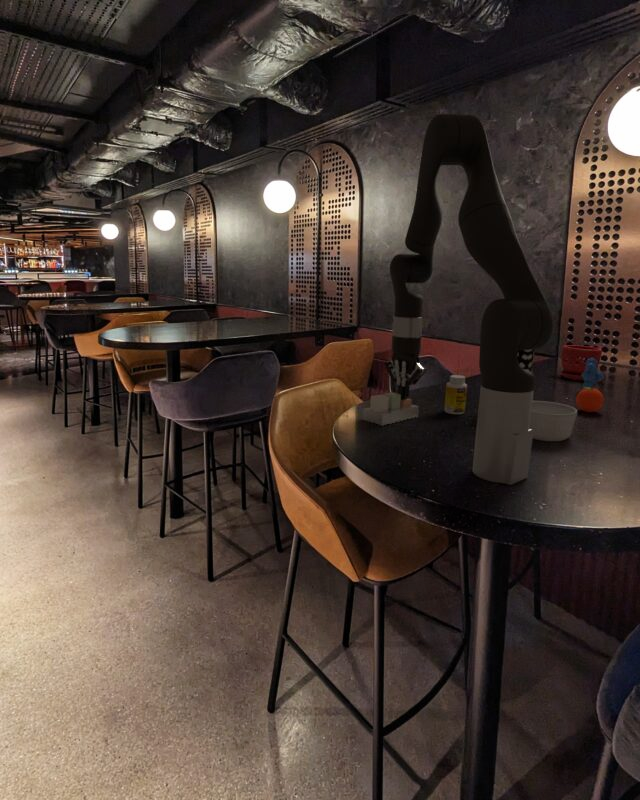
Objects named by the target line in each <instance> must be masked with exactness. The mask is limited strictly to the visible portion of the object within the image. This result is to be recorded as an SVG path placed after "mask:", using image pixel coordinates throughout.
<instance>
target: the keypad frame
mask: <svg viewBox="0 0 640 800" xmlns="http://www.w3.org/2000/svg"><path fill="white" fill-rule="evenodd" d="M419 411H420V405H417V404H412V403H411V406H408V407H400V408H399V409H395V410H389V409H388V411H386V412H382V413H377V412H374V411H371V410H370V406H369V407H365V408H362V416H361V417H362V419H361V420H362V421H364V420H365V422H367V421H368V422H367V423H370V422H371V423H370V424H373V423H375V424H374V425H376V424H378V425H377V426H380V425H381V426H380V427H385V426H388V425H387V424H389V425H393V424H396V422H397V423H400V421H401V422H403V421H404V420H405V421H407V419H409V420H412V419H415V417H416V418H419ZM411 418H412V419H411ZM392 423H393V424H392ZM384 425H385V426H384Z"/></svg>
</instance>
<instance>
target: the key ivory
mask: <svg viewBox="0 0 640 800" xmlns="http://www.w3.org/2000/svg"><path fill="white" fill-rule="evenodd" d="M388 400H389V397H387V396H383V394H376V395H371V396H370V406H369V407H370V410H371V411H374V412H377V413H382V412H386V411H388Z"/></svg>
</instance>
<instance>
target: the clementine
mask: <svg viewBox="0 0 640 800" xmlns="http://www.w3.org/2000/svg"><path fill="white" fill-rule="evenodd" d="M584 388H585V389H583V390H582V387H579V388H578V390H576V392H575V393H576V394H577V392H578V394H577V395H576V398H575V401H576V405H577V407H578V408H579V409H580V410H581V411H583V412H585V413H593V412H597V411H598V410H600V409H601V408H602V406H604V402H605V401H604V400H605V399H604V395H603V393H602V392H601V391H600V390H599V389H597V388H594V387H593V388H592V387H591V388H589V387H584Z"/></svg>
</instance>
